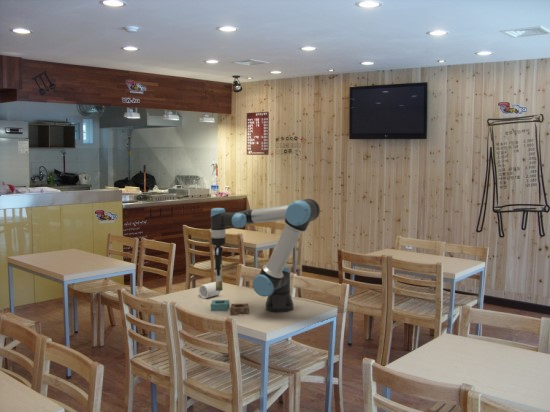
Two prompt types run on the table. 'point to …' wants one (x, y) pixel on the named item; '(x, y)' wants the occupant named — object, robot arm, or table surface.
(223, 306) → the socket block
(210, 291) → the mug
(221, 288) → the pin
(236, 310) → the mount block
